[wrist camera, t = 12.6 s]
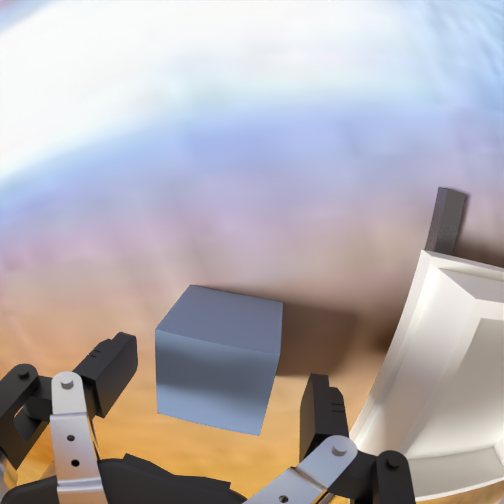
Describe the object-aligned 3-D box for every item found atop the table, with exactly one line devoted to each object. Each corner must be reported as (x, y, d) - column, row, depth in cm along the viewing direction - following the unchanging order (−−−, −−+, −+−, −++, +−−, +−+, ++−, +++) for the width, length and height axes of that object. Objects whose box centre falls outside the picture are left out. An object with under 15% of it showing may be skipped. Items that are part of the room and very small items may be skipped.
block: (267, 374, 18) (259, 435, 13) (186, 358, 18) (157, 412, 13) (282, 301, 16) (280, 355, 11) (190, 284, 17) (155, 329, 12)
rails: (386, 506, 21) (387, 513, 20) (303, 508, 22) (303, 516, 21) (542, 225, 13) (551, 228, 12) (438, 187, 13) (447, 189, 13)
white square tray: (479, 428, 16) (506, 481, 10) (332, 433, 17) (339, 510, 11) (555, 276, 12) (613, 312, 7) (404, 237, 13) (470, 284, 7)
